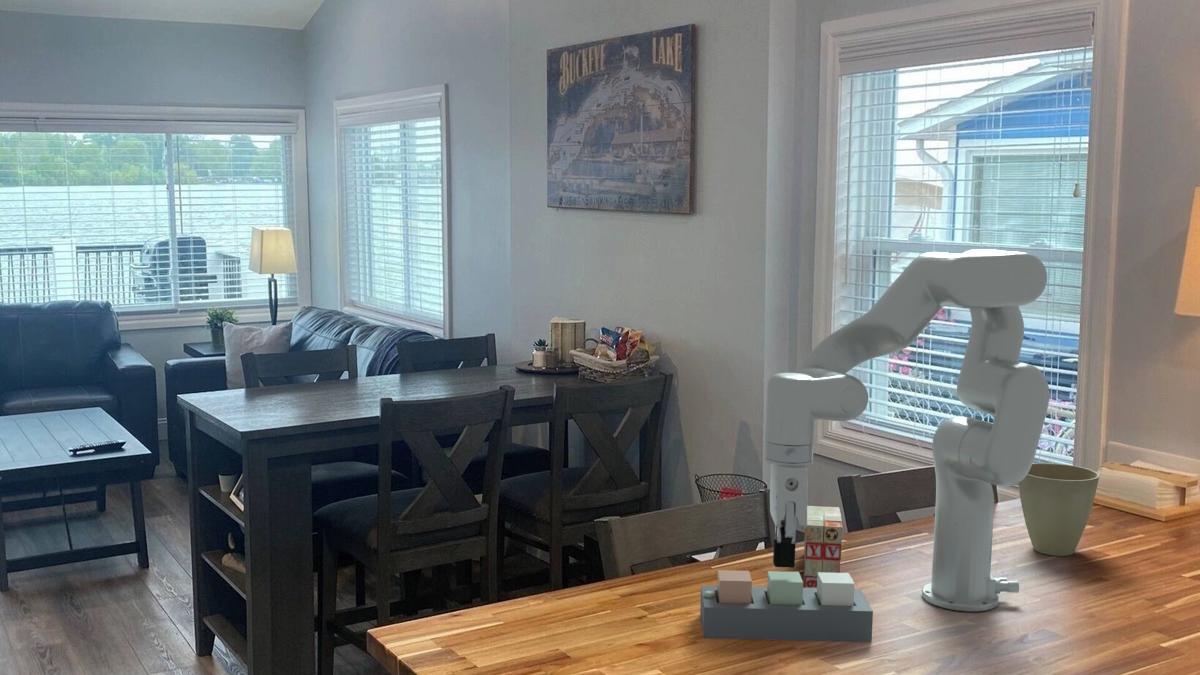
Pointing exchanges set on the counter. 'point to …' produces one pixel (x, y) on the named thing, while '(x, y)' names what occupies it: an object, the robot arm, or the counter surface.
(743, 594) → the beige cube
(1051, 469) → the plant pot
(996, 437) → the robot arm
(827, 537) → the stack of blocks
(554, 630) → the counter surface
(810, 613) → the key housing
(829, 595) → the key cream
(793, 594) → the key sage
